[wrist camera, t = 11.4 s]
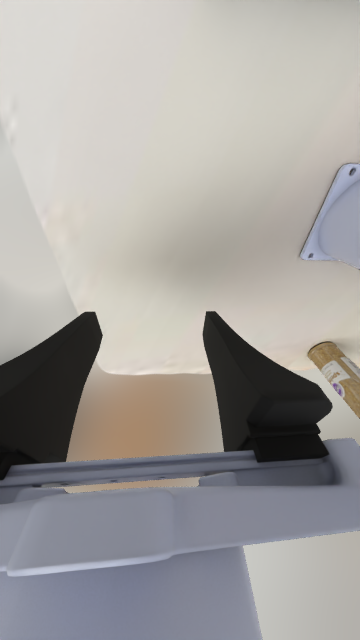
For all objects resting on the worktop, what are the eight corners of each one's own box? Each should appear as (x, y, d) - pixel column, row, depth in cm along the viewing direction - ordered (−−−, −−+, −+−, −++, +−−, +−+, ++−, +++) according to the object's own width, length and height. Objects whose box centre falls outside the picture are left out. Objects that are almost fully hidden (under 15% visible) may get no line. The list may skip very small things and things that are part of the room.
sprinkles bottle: (304, 348, 30) (379, 438, 19) (334, 337, 28) (431, 427, 18) (309, 361, 32) (377, 448, 22) (336, 351, 31) (422, 438, 20)
